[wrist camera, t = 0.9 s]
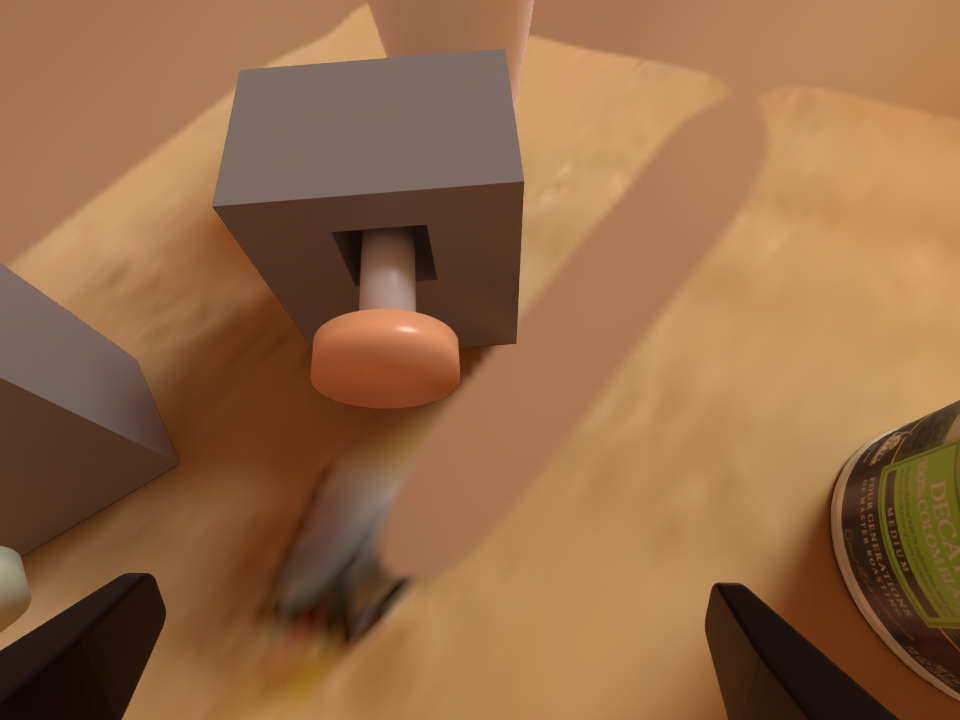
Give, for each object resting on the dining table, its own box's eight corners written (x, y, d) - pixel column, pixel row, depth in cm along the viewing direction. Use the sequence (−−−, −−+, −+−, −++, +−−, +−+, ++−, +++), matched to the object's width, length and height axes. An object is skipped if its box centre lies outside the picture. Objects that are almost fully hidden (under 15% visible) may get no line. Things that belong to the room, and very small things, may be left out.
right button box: (516, 343, 24) (524, 180, 15) (320, 359, 24) (212, 206, 15) (504, 239, 27) (505, 48, 18) (327, 253, 27) (239, 70, 18)
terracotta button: (465, 402, 18) (454, 341, 14) (335, 413, 18) (287, 354, 14) (456, 256, 21) (444, 170, 17) (343, 265, 21) (305, 181, 17)
